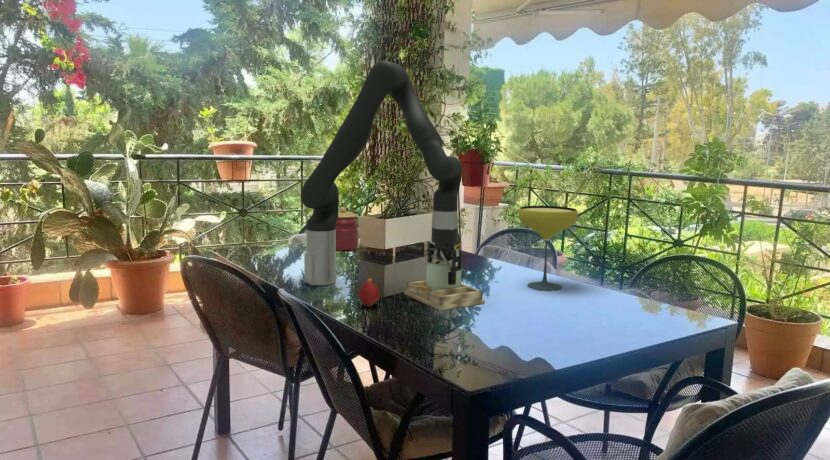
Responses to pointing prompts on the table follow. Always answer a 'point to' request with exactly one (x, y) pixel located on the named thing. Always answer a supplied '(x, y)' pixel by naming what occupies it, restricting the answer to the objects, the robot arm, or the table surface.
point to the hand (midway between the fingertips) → (443, 281)
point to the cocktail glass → (547, 231)
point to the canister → (346, 230)
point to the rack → (444, 296)
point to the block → (440, 277)
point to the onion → (369, 293)
